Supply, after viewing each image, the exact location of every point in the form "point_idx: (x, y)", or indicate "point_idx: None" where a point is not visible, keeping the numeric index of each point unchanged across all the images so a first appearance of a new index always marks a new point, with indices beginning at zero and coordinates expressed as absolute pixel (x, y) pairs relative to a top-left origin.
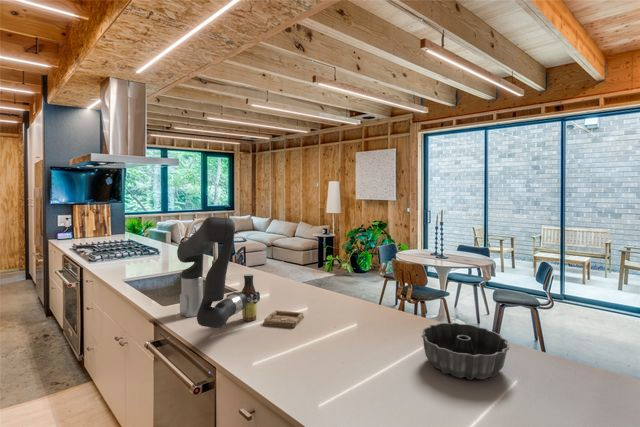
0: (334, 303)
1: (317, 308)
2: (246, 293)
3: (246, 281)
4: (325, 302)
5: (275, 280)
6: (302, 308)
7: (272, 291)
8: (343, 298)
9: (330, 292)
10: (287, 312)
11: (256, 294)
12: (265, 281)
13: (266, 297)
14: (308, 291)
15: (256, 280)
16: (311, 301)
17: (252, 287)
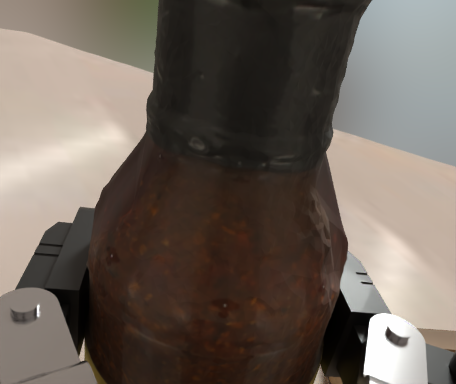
0: (442, 195)
1: (440, 239)
2: (238, 354)
3: (255, 67)
4: (403, 189)
5: (96, 66)
6: (381, 244)
7: (123, 115)
8: (421, 163)
9: (337, 131)
10: (442, 347)
11: (415, 342)
12: (61, 66)
13: (122, 153)
14: None
15: (22, 59)
16: (345, 183)
17: (331, 204)
